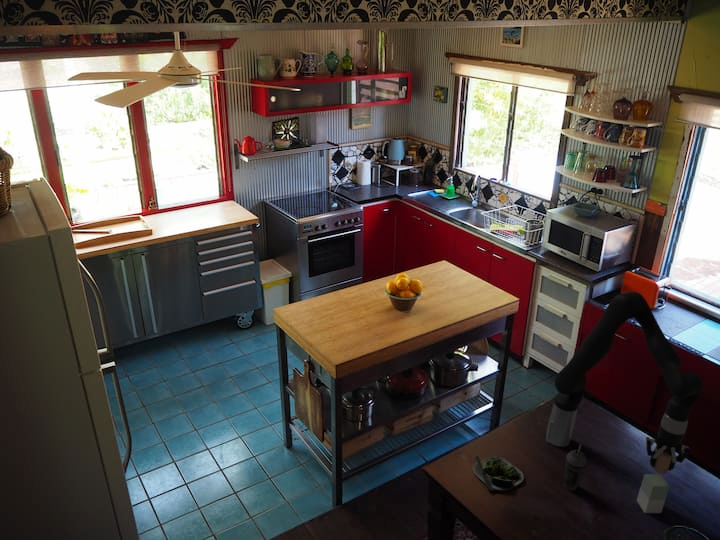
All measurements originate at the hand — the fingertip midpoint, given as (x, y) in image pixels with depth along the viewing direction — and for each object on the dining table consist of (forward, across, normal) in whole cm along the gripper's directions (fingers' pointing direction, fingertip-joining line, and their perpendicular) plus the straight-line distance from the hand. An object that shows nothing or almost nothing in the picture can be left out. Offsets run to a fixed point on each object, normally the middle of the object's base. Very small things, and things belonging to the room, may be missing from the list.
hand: (660, 467), depth 208 cm
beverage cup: (+18, -27, +1) cm, 32 cm away
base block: (+18, 0, 0) cm, 18 cm away
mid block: (+12, 0, 0) cm, 12 cm away
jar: (+1, 0, 0) cm, 1 cm away
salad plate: (+18, -53, -3) cm, 56 cm away
